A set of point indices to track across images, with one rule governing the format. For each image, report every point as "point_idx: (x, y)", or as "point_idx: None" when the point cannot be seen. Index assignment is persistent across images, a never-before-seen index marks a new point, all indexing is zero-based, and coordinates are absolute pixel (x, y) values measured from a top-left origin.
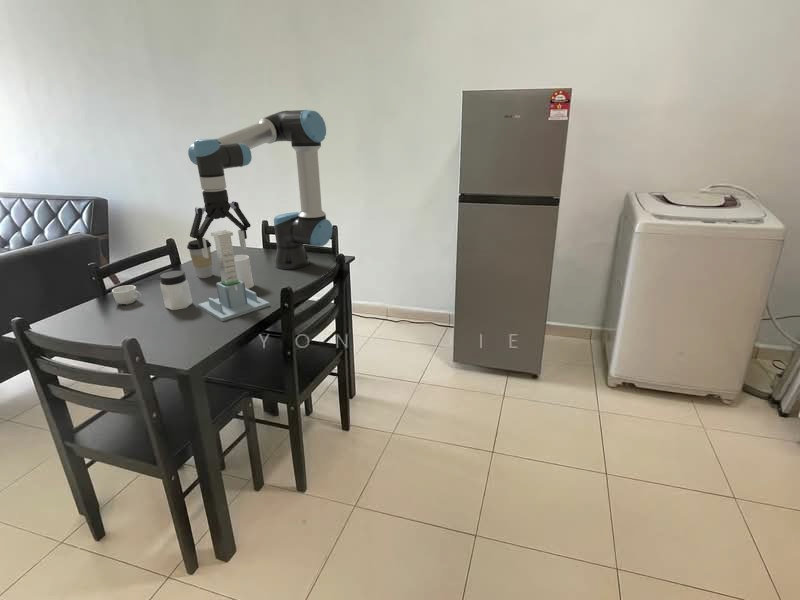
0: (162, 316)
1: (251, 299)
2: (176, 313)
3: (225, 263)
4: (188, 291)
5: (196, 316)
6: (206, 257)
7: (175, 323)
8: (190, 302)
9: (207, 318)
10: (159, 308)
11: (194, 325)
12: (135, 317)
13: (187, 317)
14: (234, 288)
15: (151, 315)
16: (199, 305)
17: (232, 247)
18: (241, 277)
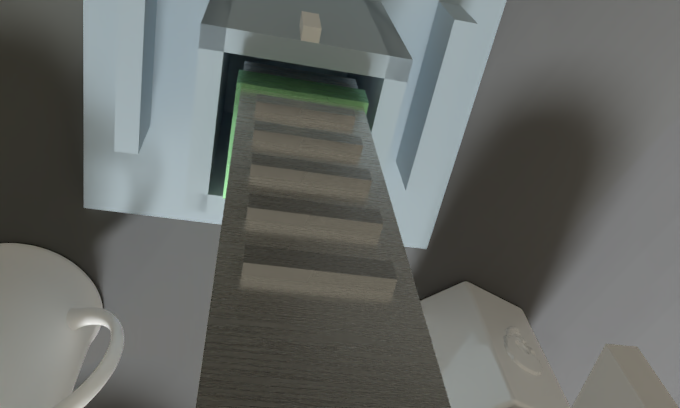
0: (601, 280)
1: (156, 3)
2: (542, 258)
3: (371, 213)
4: None
5: (531, 129)
6: (643, 356)
7: (657, 143)
8: None
9: (528, 39)
10: None
11: (648, 14)
12: (654, 364)
13: (563, 161)
14: (321, 33)
15: (610, 331)
16: (431, 229)
17: (206, 347)
18: (25, 318)
